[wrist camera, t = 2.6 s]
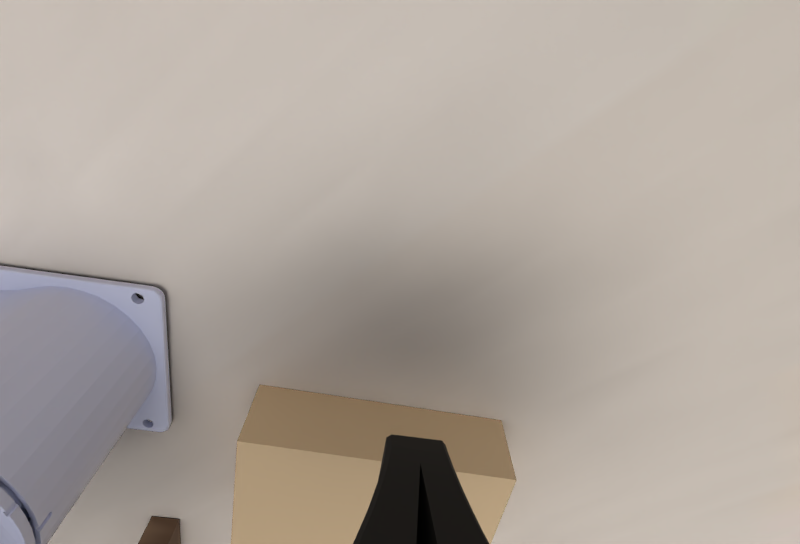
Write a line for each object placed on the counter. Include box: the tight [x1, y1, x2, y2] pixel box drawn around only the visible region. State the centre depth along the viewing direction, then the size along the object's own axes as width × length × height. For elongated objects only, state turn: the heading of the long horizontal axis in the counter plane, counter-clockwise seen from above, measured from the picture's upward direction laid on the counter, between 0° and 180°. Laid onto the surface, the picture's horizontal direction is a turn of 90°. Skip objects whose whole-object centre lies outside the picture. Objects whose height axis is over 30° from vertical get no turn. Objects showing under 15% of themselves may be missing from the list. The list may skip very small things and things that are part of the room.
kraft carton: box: [231, 385, 516, 544], centre depth 25 cm, size 12×8×4 cm, turn 79°
